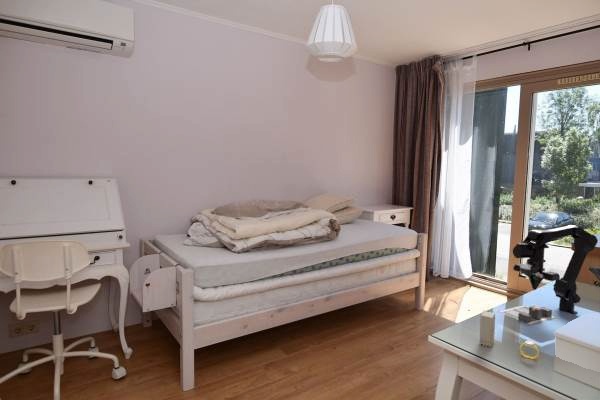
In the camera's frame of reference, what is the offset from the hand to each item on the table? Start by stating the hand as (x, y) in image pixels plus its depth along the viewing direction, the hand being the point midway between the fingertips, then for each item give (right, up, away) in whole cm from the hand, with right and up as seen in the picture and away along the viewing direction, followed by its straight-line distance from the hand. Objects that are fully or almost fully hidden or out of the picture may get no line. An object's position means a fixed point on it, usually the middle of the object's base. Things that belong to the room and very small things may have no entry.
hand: (534, 289), depth 174 cm
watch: (-26, -17, -37) cm, 48 cm away
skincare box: (-36, -15, -26) cm, 47 cm away
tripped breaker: (-3, -12, -6) cm, 13 cm away
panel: (-5, -12, -2) cm, 13 cm away
